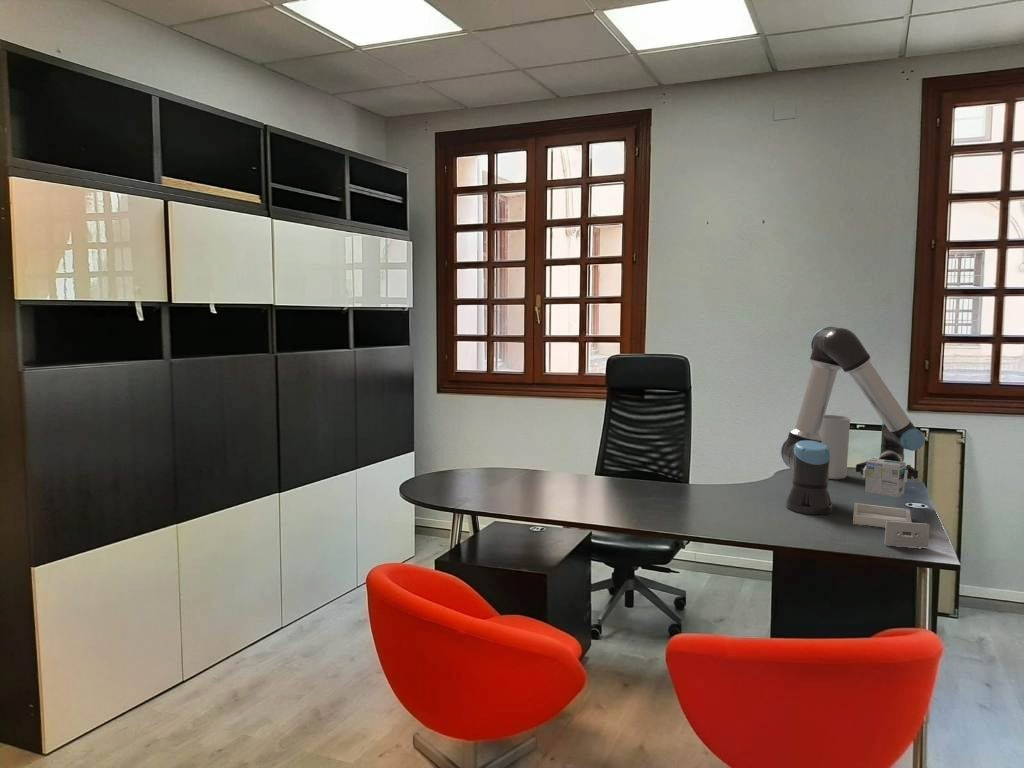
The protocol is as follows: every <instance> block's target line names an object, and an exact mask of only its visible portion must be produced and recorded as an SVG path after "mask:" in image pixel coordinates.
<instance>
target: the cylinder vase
mask: <svg viewBox="0 0 1024 768" xmlns="http://www.w3.org/2000/svg"><path fill="white" fill-rule="evenodd" d="M850 424H851V418H850V417H848V416H844V415H835V414H825V416H824V419H823V423H822V426H821V430H820V433H819V435H820V437H821V438H822V443H823V444H825V445H827V446H828V447H829V449H830V461H829V476H828V480H842V479H843V480H844V479H846V477H847V475H848V474H847V471H848V455H849V441H850V426H851V425H850Z"/></svg>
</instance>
